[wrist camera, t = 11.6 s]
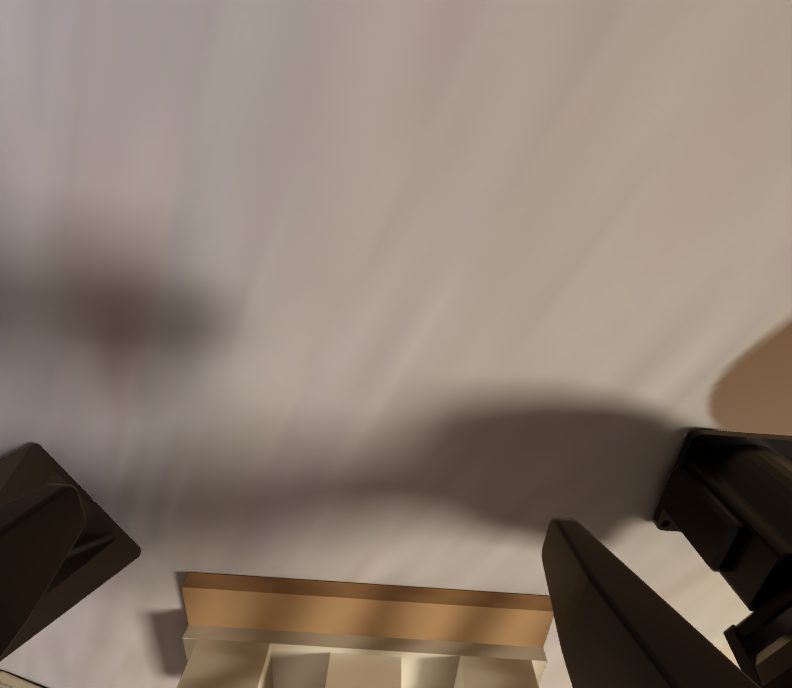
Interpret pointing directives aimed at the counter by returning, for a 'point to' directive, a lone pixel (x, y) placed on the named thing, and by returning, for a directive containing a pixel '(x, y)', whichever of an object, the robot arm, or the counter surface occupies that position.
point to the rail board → (358, 633)
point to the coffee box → (14, 681)
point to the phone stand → (90, 555)
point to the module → (363, 671)
